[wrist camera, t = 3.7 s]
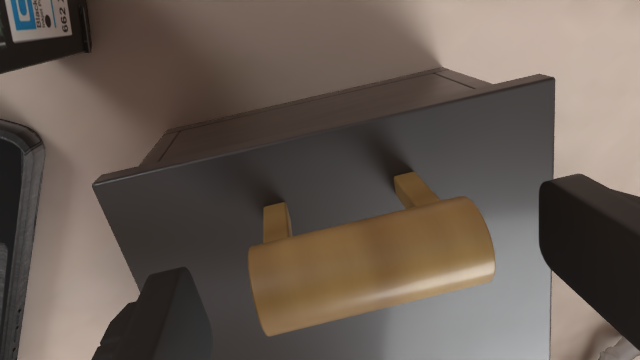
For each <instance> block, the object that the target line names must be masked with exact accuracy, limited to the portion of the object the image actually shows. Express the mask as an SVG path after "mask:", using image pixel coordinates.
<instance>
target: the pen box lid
mask: <svg viewBox="0 0 640 360" xmlns="http://www.w3.org/2000/svg"><path fill="white" fill-rule="evenodd" d="M554 119H555V78H554V77H550V76H546V75H542V74H537V75H532V76H528V77H524V78H519V79H515V80H511V81H506V82H502V83H498V84H493V85H489V86H485V87H480V88H476V89H472V90H467V91H463V92H459V93H454V94H450V95H446V96H441V97H437V98H433V99H428V100H424V101H420V102H415V103H411V104H407V105H402V106H398V107H394V108H389V109H385V110H381V111H376V112H372V113H368V114H363V115H359V116H355V117H350V118H346V119H342V120H337V121H333V122H329V123H324V124H320V125H316V126H311V127H307V128H303V129H298V130H294V131H290V132H285V133H281V134H277V135H272V136H268V137H264V138H259V139H255V140H251V141H246V142H242V143H238V144H233V145H229V146H225V147H220V148H216V149H212V150H207V151H203V152H199V153H194V154H190V155H186V156H181V157H177V158H173V159H168V160H164V161H160V162H155V163H151V164H147V165H142V166H138V167H134V168H129V169H125V170H121V171H116V172H112V173H108V174H103V175H101V176H100V177H99V178H98V179H97V180H96V181H95V182H94V183H93V184H92V188H93V190H94V192H95V194H96V196H97V199H98V201H99V203H100V205H101V207H102V209H103V212H104V214H105V216H106V218H107V220H108V223H109V225H110V227H111V229H112V231H113V234H114V236H115V238H116V240H117V242H118V244H119V247H120V249H121V251H122V253H123V255H124V258H125V260H126V262H127V264H128V266H129V269H130V271H131V273H132V275H133V277H134V279H135V282H136V284H137V286H138V288H139V290H140V293H141V291H142V288H143V286H144V284H145V282H146V280H147V278H148V276H149V275H151V274H154V273H158V272H163V271H167V270H171V269H175V268H179V267H186V268H187V269H188V270H189V271H190V273H191V275H192V278H193V280H194V283H195V285H196V288H197V290H198V293H199V296H200V298H201V301H202V303H203V306H204V308H205V311H206V313H207V316H208V318H209V321H210V324H211V329H212V335H213V352H212V358H211V360H550V336H551V282H552V270H551V269H550V268H549V266H548V265H547V264H546V262H545V260H544V259H543V256H542V254H541V251H540V247H539V189H540V186H541V184H542V183H543V182H545V181H549V180H553V173H554Z"/></svg>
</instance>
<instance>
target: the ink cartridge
mask: <svg viewBox="0 0 640 360" xmlns="http://www.w3.org/2000/svg"><path fill="white" fill-rule="evenodd" d="M90 52H91V36H90V29H89V21H88V13H87V5H86V0H0V74H3V73H6V72H10V71H14V70H18V69H22V68H26V67H29V66H33V65H37V64H41V63H45V62H49V61H52V60H56V59H60V58H64V57H68V56H72V55H76V54H79V53H90Z"/></svg>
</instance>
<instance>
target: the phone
mask: <svg viewBox="0 0 640 360" xmlns="http://www.w3.org/2000/svg"><path fill="white" fill-rule="evenodd" d="M44 160H45V147H44V145H43V142H42V140H41V139H40V138H39V136H38V135H37V134H36V133H35V132H34V131H32V130H31V129H29V128H28V127H25V126H23V125H20V124H17V123H13V122H9V121H6V120H2V119H0V360H17V355H18V348H19V341H20V334H21V326H22V319H23V312H24V305H25V298H26V290H27V283H28V276H29V269H30V261H31V254H32V247H33V240H34V232H35V225H36V218H37V211H38V203H39V196H40V189H41V182H42V174H43V167H44Z"/></svg>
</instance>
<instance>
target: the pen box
mask: <svg viewBox="0 0 640 360" xmlns="http://www.w3.org/2000/svg"><path fill="white" fill-rule="evenodd" d="M489 85H493V84H491V83H488V82H485V81H482V80H479V79H476V78H473V77H470V76H467V75H464V74H461V73H458V72H455V71H452V70H449V69H446V68H443V67H442V68H437V69H433V70H428V71H424V72H420V73H415V74H411V75H407V76H402V77H398V78H393V79H389V80H385V81H380V82H376V83H372V84H367V85H363V86H358V87H354V88H350V89H345V90H341V91H336V92H332V93H328V94H323V95H319V96H315V97H310V98H306V99H301V100H297V101H293V102H288V103H284V104H280V105H275V106H271V107H266V108H262V109H258V110H253V111H249V112H245V113H240V114H236V115H231V116H227V117H223V118H218V119H214V120H210V121H205V122H201V123H196V124H192V125H188V126H183V127H179V128H175V129H170V130H167V131H166V132H165V133H164V135H163V137H162V138H161V139H160V140H159V141H158V143H157V144H156V145H155V146H154V148H153V149H152V150H151V151H150V153H149V154H148V155H147V156H146V157H145V159H144V160H143V161H142V162H141V164H140V165H139V166H142V165H147V164H151V163H155V162H160V161H164V160H168V159H173V158H177V157H181V156H186V155H190V154H194V153H199V152H203V151H207V150H212V149H216V148H220V147H225V146H229V145H233V144H238V143H242V142H246V141H251V140H255V139H259V138H264V137H268V136H272V135H277V134H281V133H285V132H290V131H294V130H298V129H303V128H307V127H311V126H316V125H320V124H324V123H329V122H333V121H337V120H342V119H346V118H350V117H355V116H359V115H363V114H368V113H372V112H376V111H381V110H385V109H389V108H394V107H398V106H402V105H407V104H411V103H415V102H420V101H424V100H428V99H433V98H437V97H441V96H446V95H450V94H454V93H459V92H463V91H467V90H472V89H476V88H480V87H485V86H489Z"/></svg>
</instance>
